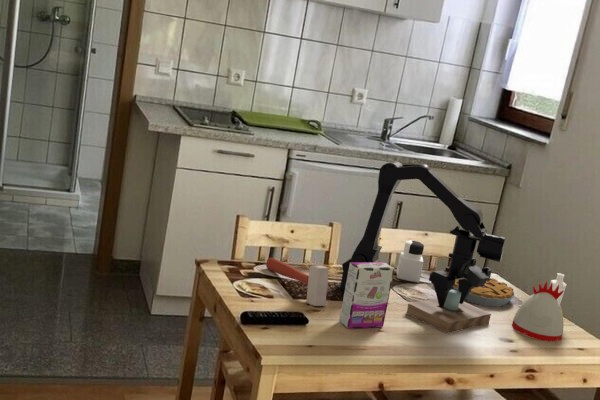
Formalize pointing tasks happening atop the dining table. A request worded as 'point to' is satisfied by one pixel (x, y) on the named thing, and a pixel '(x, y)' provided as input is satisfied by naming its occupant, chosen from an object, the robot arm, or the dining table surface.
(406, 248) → the medicine bottle
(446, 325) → the socket board
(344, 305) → the candy bar box
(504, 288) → the pie
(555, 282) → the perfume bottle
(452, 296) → the stepped peg
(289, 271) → the mallet
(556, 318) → the kitchen timer
